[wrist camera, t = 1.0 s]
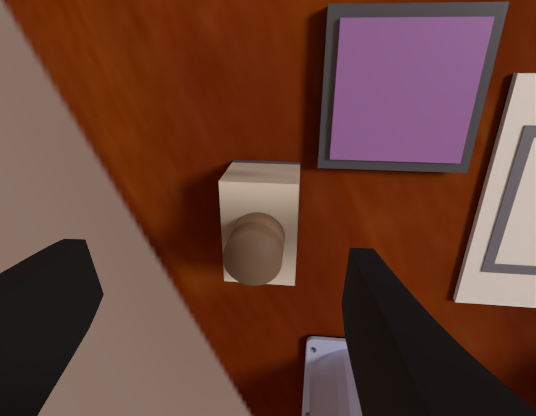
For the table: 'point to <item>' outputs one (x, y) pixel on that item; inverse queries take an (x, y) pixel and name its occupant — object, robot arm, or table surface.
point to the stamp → (259, 221)
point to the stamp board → (506, 211)
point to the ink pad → (406, 84)
